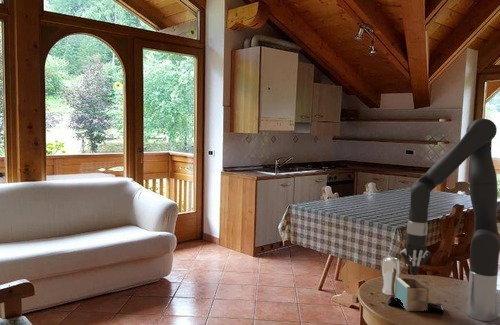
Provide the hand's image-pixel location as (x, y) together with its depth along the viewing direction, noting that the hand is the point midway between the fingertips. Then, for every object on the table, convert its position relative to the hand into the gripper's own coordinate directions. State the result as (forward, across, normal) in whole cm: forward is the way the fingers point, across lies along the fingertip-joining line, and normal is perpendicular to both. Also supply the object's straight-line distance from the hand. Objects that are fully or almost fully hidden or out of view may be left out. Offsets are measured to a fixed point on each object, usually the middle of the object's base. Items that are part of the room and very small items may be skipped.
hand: (413, 274), depth 166 cm
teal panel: (+12, -5, 0) cm, 13 cm away
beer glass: (+13, -4, +12) cm, 18 cm away
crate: (+13, -1, 0) cm, 13 cm away
